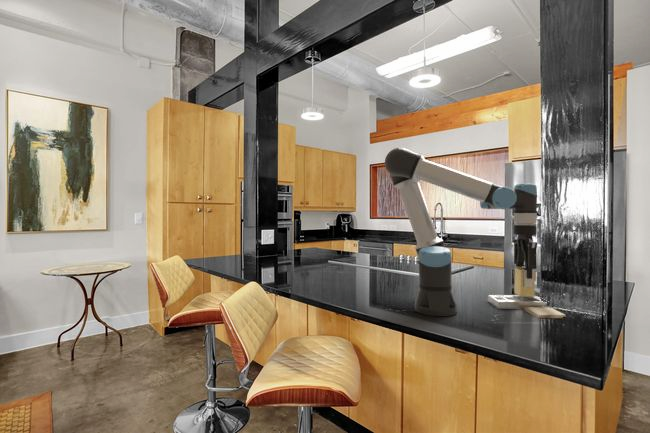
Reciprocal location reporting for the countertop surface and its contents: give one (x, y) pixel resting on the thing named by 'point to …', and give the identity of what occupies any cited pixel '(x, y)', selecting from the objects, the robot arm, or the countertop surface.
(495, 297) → the white recessed slab
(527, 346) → the countertop surface
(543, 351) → the countertop surface
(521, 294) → the block
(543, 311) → the coaster
